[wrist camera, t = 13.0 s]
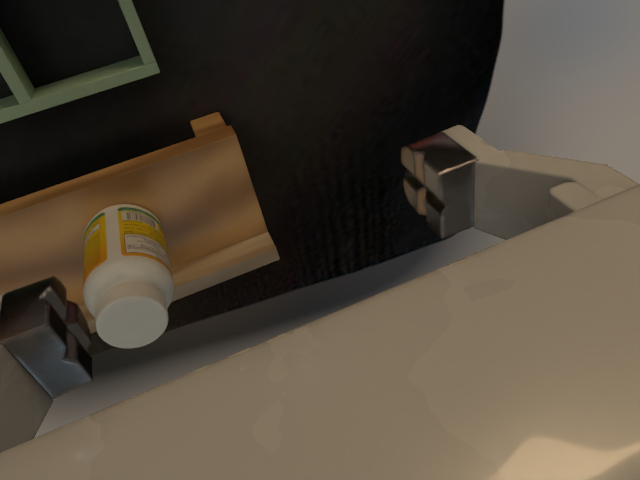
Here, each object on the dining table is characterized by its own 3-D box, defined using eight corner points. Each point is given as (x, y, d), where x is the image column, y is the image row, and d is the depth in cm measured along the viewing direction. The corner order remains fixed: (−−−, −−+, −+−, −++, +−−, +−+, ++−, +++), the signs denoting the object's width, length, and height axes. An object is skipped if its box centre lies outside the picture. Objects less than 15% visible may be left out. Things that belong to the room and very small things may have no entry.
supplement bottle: (149, 192, 37) (166, 274, 29) (171, 251, 40) (191, 338, 33) (70, 214, 35) (67, 306, 28) (99, 273, 39) (103, 368, 31)
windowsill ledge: (-73, 202, 38) (-105, 271, 31) (219, 104, 41) (244, 148, 35) (6, 298, 44) (-7, 372, 37) (253, 206, 47) (279, 259, 41)
